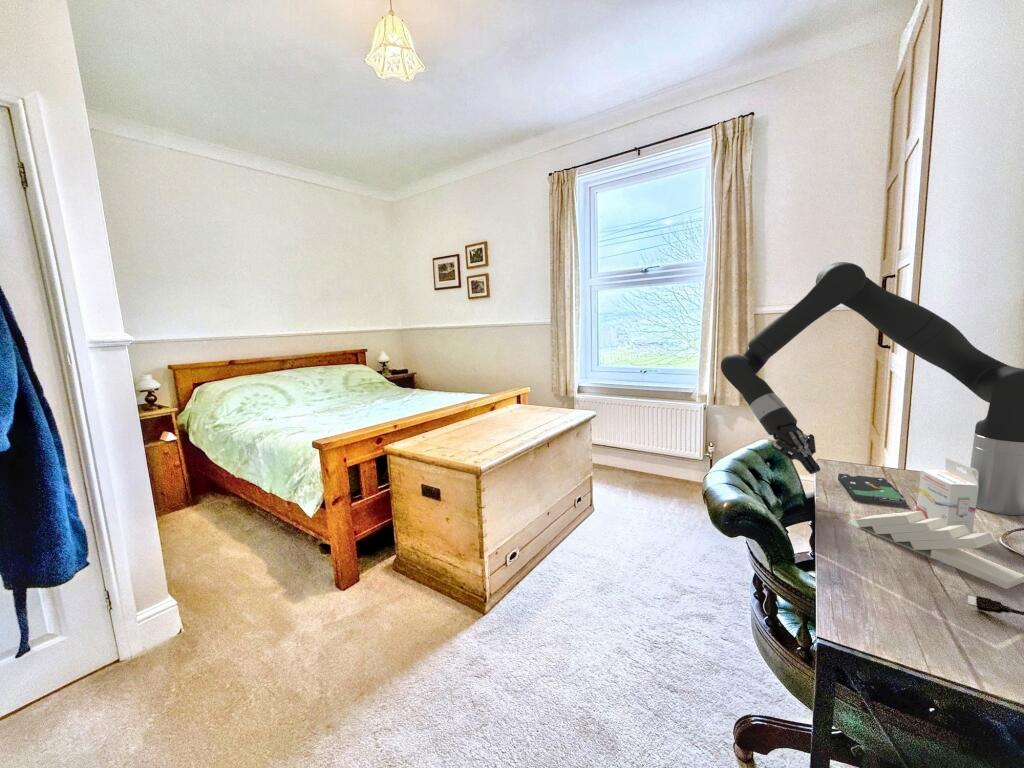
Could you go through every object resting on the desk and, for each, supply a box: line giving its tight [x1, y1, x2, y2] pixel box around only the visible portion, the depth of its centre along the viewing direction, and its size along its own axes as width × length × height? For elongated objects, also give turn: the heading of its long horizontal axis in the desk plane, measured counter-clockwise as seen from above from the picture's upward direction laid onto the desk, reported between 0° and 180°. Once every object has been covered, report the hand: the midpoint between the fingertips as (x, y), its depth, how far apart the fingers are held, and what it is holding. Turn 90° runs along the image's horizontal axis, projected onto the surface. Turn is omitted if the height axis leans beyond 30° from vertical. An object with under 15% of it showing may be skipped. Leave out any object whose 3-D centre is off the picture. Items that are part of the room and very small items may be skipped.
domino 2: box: [872, 518, 947, 534], centre depth 82 cm, size 5×2×10 cm
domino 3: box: [891, 525, 970, 543], centre depth 79 cm, size 5×2×10 cm
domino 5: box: [929, 548, 1024, 590], centre depth 73 cm, size 5×2×10 cm
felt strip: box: [846, 519, 933, 559], centre depth 84 cm, size 5×15×1 cm, turn 18°
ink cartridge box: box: [915, 457, 979, 534], centre depth 87 cm, size 9×5×15 cm, turn 168°
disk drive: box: [837, 473, 908, 508], centre depth 105 cm, size 10×3×15 cm
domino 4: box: [910, 532, 996, 550], centre depth 76 cm, size 5×2×10 cm
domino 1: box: [855, 510, 926, 527], centre depth 85 cm, size 5×2×10 cm
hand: (815, 472), depth 99 cm, fingers closed
